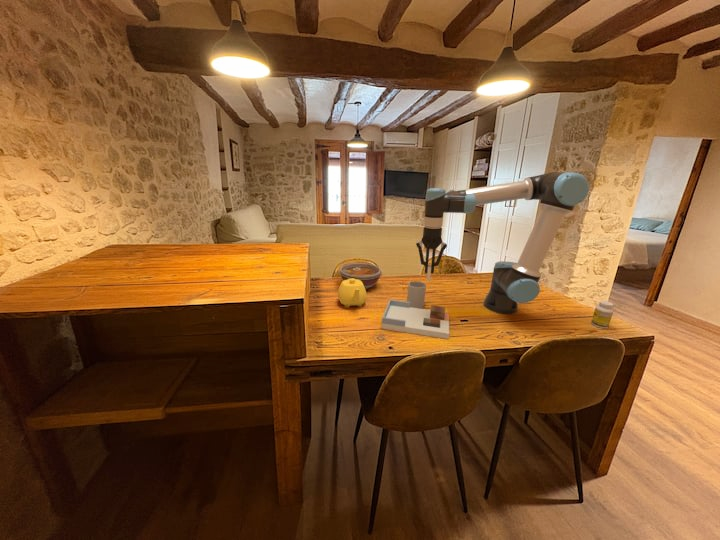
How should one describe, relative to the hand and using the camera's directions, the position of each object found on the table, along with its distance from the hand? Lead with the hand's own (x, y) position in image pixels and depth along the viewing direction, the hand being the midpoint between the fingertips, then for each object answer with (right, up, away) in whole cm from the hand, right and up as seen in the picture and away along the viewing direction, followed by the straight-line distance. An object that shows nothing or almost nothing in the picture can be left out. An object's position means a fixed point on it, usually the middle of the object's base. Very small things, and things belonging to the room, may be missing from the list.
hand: (428, 280), depth 131 cm
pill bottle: (+76, -20, +1) cm, 79 cm away
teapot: (-34, -13, +14) cm, 39 cm away
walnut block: (+4, -16, 0) cm, 16 cm away
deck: (-6, -19, -1) cm, 20 cm away
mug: (-3, -12, +18) cm, 22 cm away
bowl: (-30, -5, +38) cm, 49 cm away
